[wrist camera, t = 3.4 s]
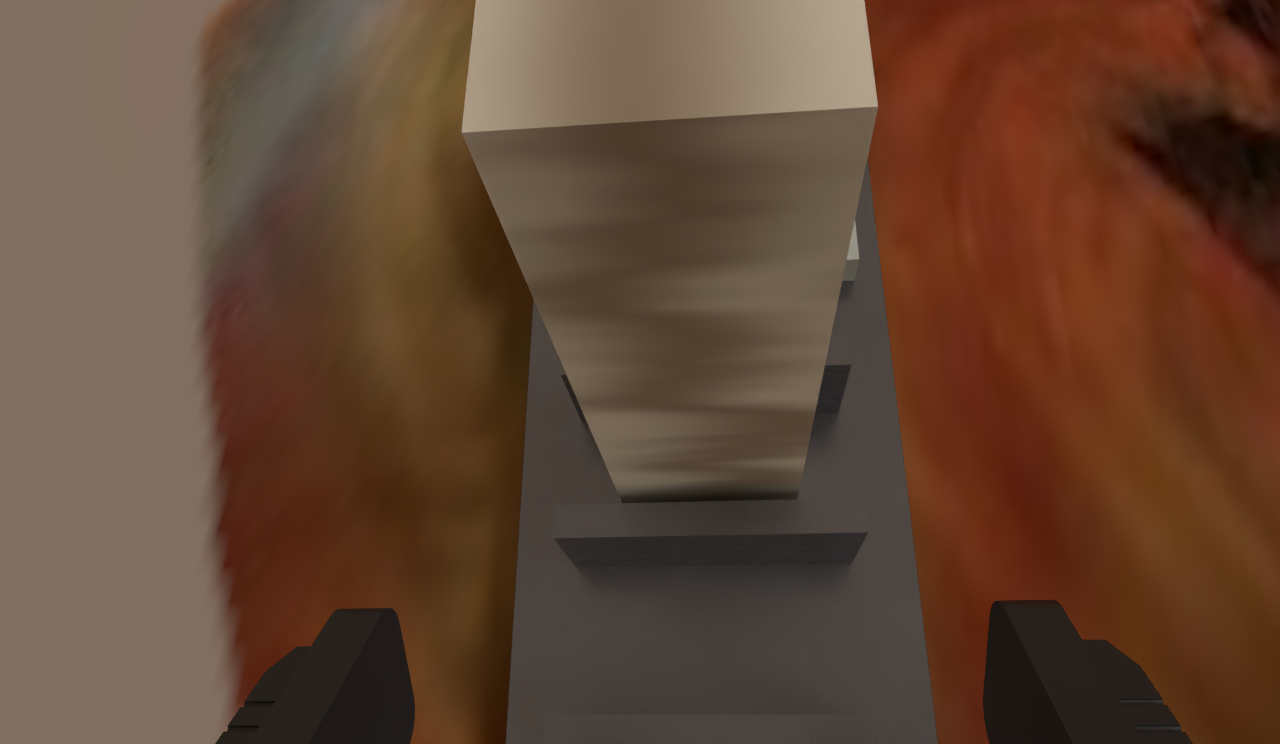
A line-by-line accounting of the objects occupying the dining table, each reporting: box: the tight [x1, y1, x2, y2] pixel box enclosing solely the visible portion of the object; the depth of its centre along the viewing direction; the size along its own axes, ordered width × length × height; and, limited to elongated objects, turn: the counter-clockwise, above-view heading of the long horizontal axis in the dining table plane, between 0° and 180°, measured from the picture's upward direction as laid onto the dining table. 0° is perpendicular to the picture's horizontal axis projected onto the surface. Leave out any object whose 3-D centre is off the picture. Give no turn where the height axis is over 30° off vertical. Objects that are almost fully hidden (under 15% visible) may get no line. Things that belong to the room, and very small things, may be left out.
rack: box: [506, 63, 938, 744], centre depth 29 cm, size 13×31×6 cm, turn 0°
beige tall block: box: [462, 0, 878, 503], centre depth 22 cm, size 6×3×20 cm, turn 90°
